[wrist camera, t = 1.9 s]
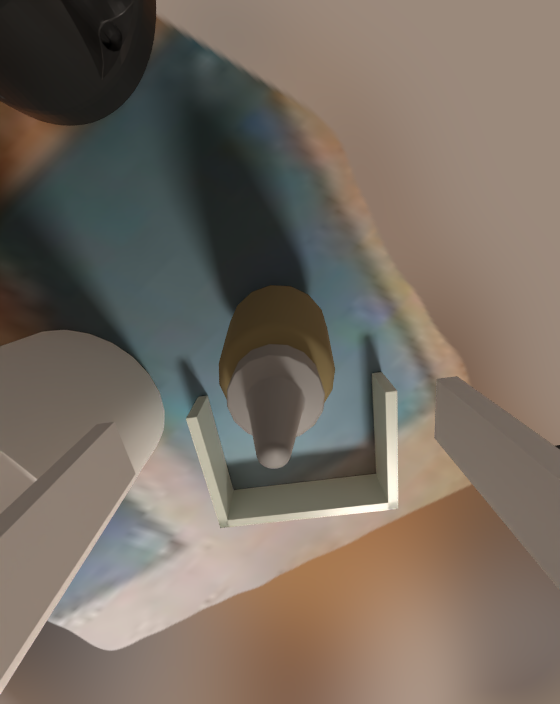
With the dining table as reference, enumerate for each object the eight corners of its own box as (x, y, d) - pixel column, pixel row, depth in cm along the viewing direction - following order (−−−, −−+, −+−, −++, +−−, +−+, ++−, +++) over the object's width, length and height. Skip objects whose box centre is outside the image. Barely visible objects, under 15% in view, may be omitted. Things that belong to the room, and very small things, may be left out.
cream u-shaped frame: (198, 396, 29) (186, 418, 26) (381, 371, 28) (397, 390, 24) (227, 497, 34) (220, 527, 30) (384, 479, 33) (398, 508, 29)
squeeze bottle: (268, 260, 25) (241, 288, 8) (338, 314, 26) (442, 435, 9) (219, 332, 27) (114, 473, 10) (286, 377, 28) (294, 565, 12)
